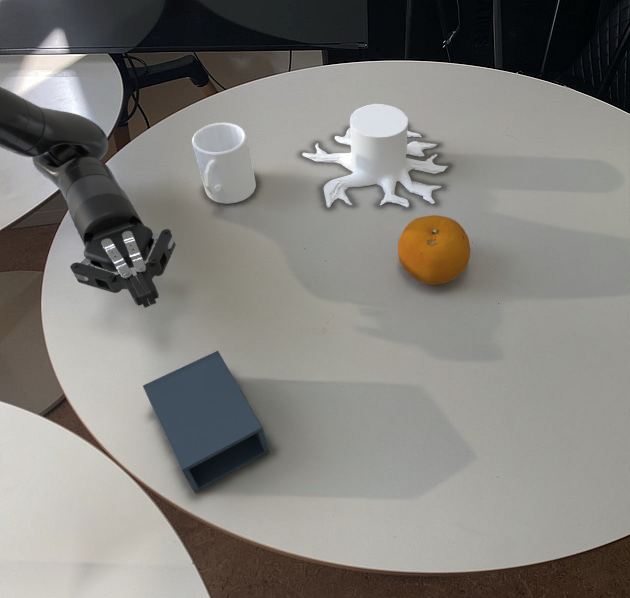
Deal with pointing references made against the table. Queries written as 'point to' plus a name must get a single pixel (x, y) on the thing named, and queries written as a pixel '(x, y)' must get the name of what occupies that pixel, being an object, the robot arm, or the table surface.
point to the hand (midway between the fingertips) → (148, 301)
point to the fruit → (434, 249)
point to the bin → (206, 420)
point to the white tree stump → (378, 155)
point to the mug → (224, 162)
